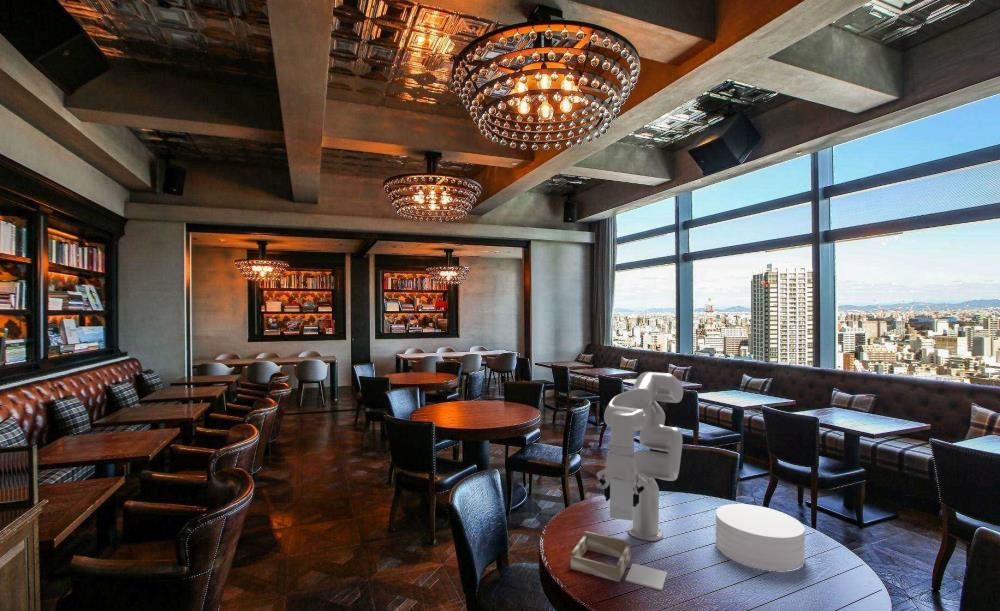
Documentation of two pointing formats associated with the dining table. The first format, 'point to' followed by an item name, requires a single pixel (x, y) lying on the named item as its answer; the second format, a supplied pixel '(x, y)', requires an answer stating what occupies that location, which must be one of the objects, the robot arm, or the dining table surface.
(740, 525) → the plate stack
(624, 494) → the supplement box
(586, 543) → the cold frame
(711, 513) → the dining table surface
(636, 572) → the mat
